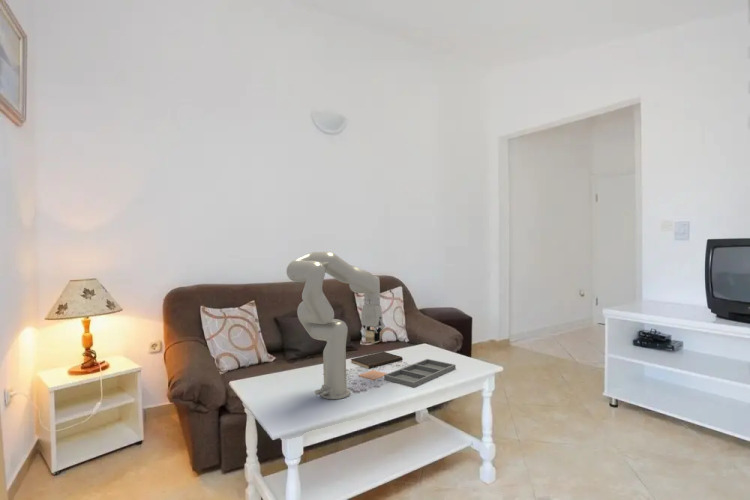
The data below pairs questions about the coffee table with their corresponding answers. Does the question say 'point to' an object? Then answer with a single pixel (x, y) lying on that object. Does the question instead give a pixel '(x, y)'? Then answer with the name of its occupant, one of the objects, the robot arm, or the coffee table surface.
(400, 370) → the grey organiser
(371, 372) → the terracotta tile
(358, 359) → the hardcover book
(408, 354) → the coffee table surface
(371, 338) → the birch cube
